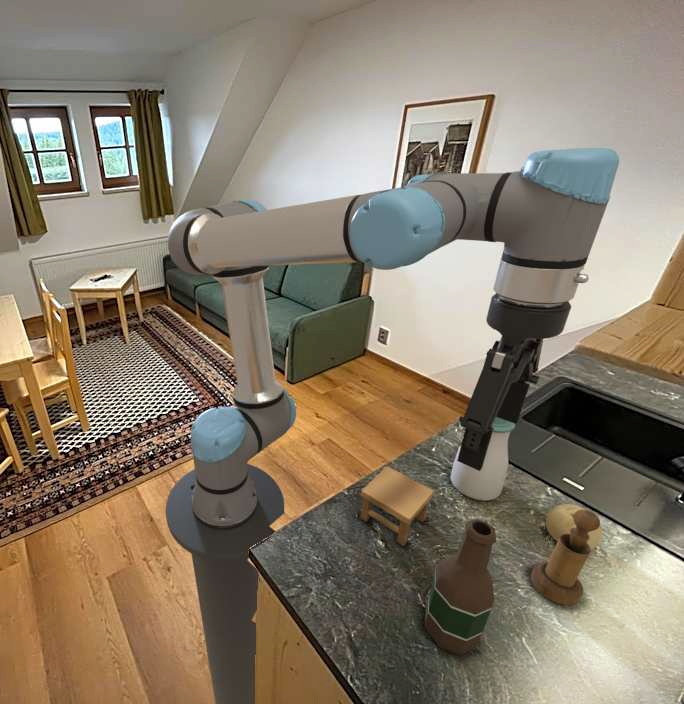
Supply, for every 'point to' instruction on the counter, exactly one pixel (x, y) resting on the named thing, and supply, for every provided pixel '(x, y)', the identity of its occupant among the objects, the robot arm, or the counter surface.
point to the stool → (396, 500)
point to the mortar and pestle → (566, 562)
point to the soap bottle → (486, 466)
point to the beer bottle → (462, 592)
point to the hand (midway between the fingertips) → (489, 440)
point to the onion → (568, 523)
